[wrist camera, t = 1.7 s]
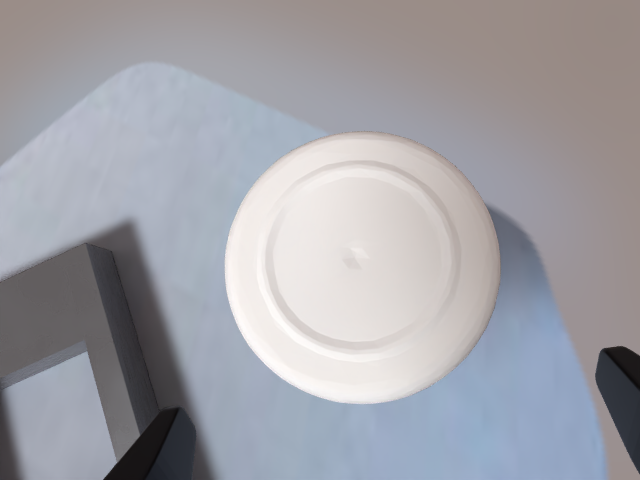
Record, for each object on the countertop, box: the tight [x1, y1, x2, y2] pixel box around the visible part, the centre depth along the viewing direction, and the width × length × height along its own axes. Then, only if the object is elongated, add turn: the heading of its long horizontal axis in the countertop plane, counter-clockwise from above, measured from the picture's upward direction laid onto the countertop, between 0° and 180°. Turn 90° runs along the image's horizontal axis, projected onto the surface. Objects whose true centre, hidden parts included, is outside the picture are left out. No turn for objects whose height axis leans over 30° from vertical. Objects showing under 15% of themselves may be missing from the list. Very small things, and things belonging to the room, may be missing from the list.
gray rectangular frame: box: [0, 243, 159, 463], centre depth 20 cm, size 16×10×2 cm, turn 23°
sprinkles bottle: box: [225, 131, 501, 404], centre depth 13 cm, size 5×5×13 cm
